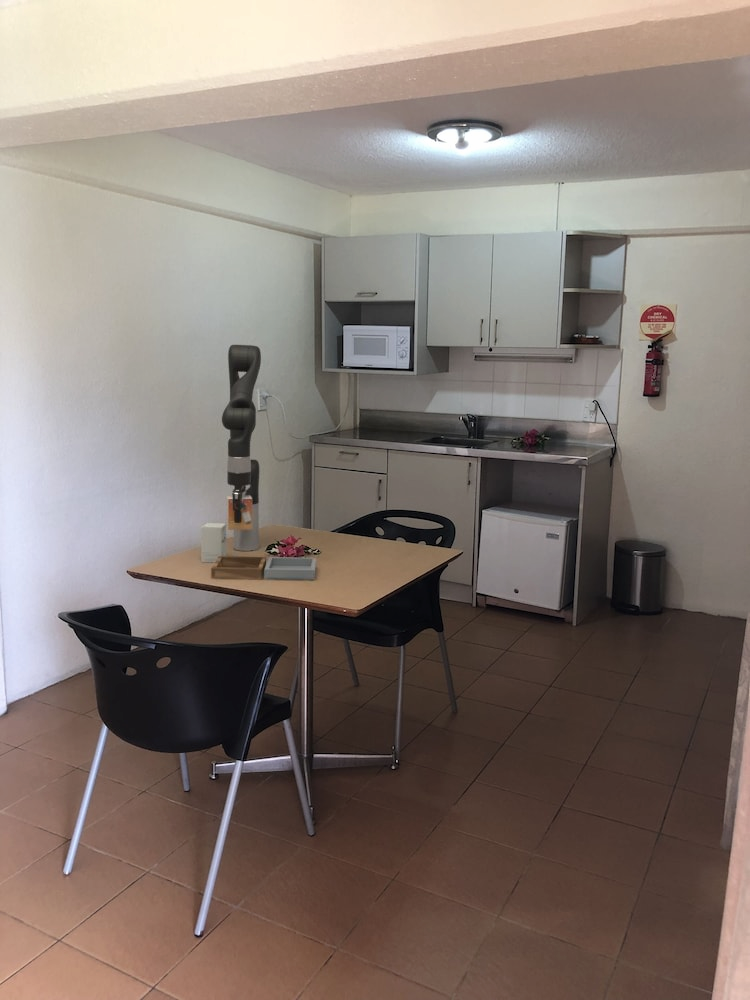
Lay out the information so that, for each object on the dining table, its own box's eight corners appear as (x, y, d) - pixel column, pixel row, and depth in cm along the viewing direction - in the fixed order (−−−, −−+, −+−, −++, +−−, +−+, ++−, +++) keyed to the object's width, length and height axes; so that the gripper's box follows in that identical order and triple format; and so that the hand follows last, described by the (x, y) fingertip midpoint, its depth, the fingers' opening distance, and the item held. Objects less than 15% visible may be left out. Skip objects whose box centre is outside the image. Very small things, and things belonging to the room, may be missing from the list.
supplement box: (221, 563, 285) (221, 527, 283) (200, 562, 286) (200, 526, 284) (226, 558, 293) (226, 523, 290) (206, 557, 293) (206, 522, 291)
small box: (227, 530, 268) (227, 498, 266) (226, 526, 273) (225, 495, 271) (252, 529, 270) (252, 498, 268) (250, 525, 275) (250, 494, 273)
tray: (269, 567, 282) (269, 557, 281) (316, 567, 283) (316, 557, 282) (264, 579, 266) (264, 569, 266) (314, 580, 267) (314, 570, 266)
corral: (219, 566, 282) (218, 556, 281) (266, 566, 282) (266, 557, 281) (211, 578, 266) (211, 568, 265) (261, 579, 266) (261, 569, 266)
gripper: (230, 466, 275) (230, 515, 278) (224, 473, 260) (224, 524, 264) (253, 466, 275) (253, 515, 278) (248, 473, 261) (248, 525, 264)
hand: (239, 520), depth 271 cm, fingers closed on small box, 6 cm apart
